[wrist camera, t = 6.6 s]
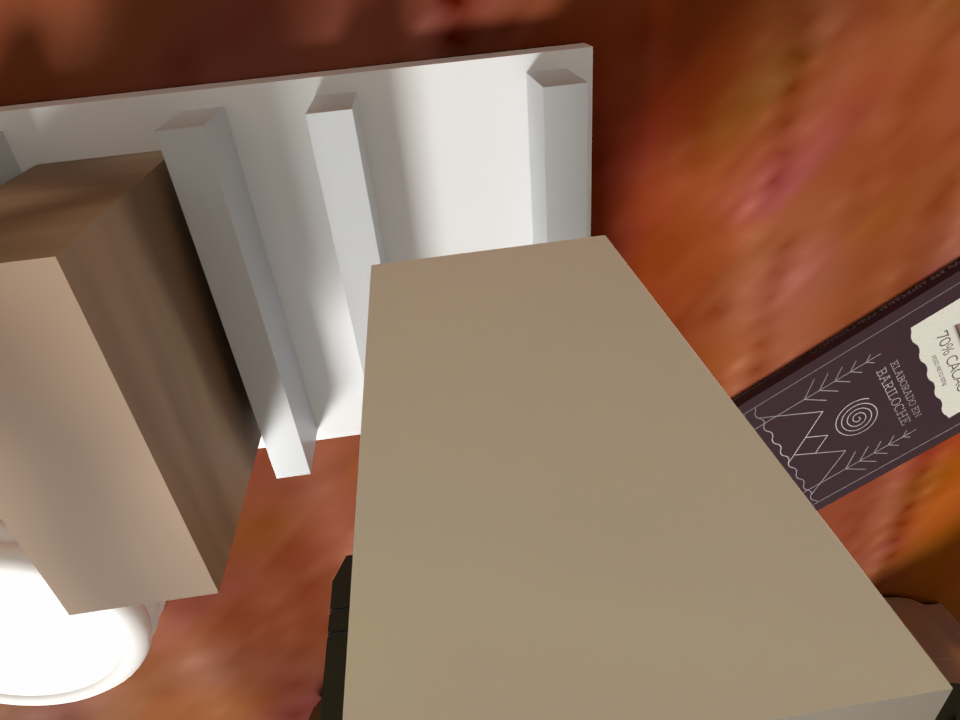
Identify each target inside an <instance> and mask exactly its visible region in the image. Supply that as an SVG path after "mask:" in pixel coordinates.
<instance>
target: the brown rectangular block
mask: <svg viewBox="0 0 960 720" xmlns="http://www.w3.org/2000/svg"><path fill="white" fill-rule="evenodd" d="M260 439H261V432H260V429H259V427H258V424H257V421H256V418H255V415H254V412H253V409H252V407H251V404H250V401H249V398H248V395H247V392H246V390H245V387H244V384H243V381H242V378H241V375H240V373H239V370H238V367H237V364H236V361H235V358H234V356H233V353H232V350H231V347H230V344H229V341H228V339H227V336H226V333H225V330H224V327H223V324H222V321H221V319H220V316H219V313H218V310H217V307H216V304H215V302H214V299H213V296H212V293H211V290H210V287H209V285H208V282H207V279H206V276H205V273H204V270H203V268H202V265H201V262H200V259H199V256H198V253H197V250H196V248H195V245H194V242H193V239H192V236H191V233H190V231H189V228H188V225H187V222H186V219H185V216H184V214H183V211H182V208H181V205H180V202H179V199H178V197H177V194H176V191H175V188H174V185H173V182H172V179H171V177H170V174H169V171H168V168H167V165H166V162H165V160H164V157H163V154H162V151H161V150H159V151H150V152H141V153H133V154H124V155H115V156H106V157H98V158H89V159H80V160H71V161H63V162H54V163H45V164H37V165H35V166H33V167H32V168H30V169H28V170H27V171H25V172H23V173H21V174H20V175H18V176H16V177H15V178H13V179H11V180H10V181H8V182H6V183H4V184H3V185H1V186H0V518H1V519H2V521H3V522H4V523H5V525H6V526H7V528H8V529H9V531H10V532H11V533H12V535H13V536H14V538H15V539H16V540H17V542H18V543H19V545H20V546H21V547H22V549H23V550H24V552H25V553H26V555H27V556H28V557H29V559H30V560H31V562H32V563H33V564H34V566H35V567H36V569H37V570H38V571H39V573H40V574H41V576H42V577H43V579H44V580H45V581H46V583H47V584H48V586H49V587H50V588H51V590H52V591H53V593H54V594H55V595H56V597H57V598H58V600H59V601H60V603H61V604H62V605H63V607H64V608H65V610H66V611H67V612H68V614H69V615H75V614H81V613H88V612H95V611H101V610H108V609H115V608H121V607H128V606H135V605H141V604H148V603H154V602H161V601H168V600H174V599H181V598H188V597H194V596H201V595H207V594H214V593H219V590H220V586H221V582H222V579H223V575H224V571H225V568H226V564H227V560H228V557H229V553H230V549H231V546H232V542H233V538H234V534H235V531H236V527H237V523H238V520H239V516H240V512H241V509H242V505H243V501H244V498H245V494H246V490H247V487H248V483H249V479H250V476H251V472H252V468H253V465H254V461H255V457H256V454H257V450H258V446H259V443H260Z"/></svg>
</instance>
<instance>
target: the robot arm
mask: <svg viewBox="0 0 960 720" xmlns="http://www.w3.org/2000/svg"><path fill="white" fill-rule="evenodd" d="M352 561H353V555H349V556H346V558H345V560H344V561H343V563H342V565H341V567H340V569H339V571H338V573H337V574H336V576H335V578H334V580H333V583H332V594H331V605H330V612H331V614H330V616H329V627H328V638H327V648H326V659H325V670H324V681H323V691H322V702H321V713H320V720H343V704H344V688H345V672H346V657H347V641H348V625H349V609H350V593H351V577H352ZM884 599H885V600H886V602H887V603H888V604H889V605H890V607H891V608H892V609H893V611H894V612H895V613H896V615H897V616H898V617H899V618H900V620H901V621H902V622H903V624H904V625H905V626H906V628H907V629H908V630H909V632H910V633H911V634H912V635H913V637H914V638H915V639H916V641H917V642H918V643H919V645H920V646H921V647H922V648H923V650H924V651H925V652H926V654H927V655H928V656H929V658H930V659H931V660H932V661H933V663H934V664H935V665H936V667H937V668H938V669H939V671H940V672H941V673H942V674H943V676H944V677H945V678H946V680H947V681H948V682H949V684H950V685H951V686H952V688H953V689H952V691H951V693H950V695H949V696H948V698H947V700H946V701H945V703H944V705H943V707H942V708H941V710H940V712H939V714H938V715H937V717H936V719H935V720H960V624H959V623H958V622H957V621H956V619H955V618H954V617H953V616H952V615H951V614H950V612H949V611H948V610H947V609H946V608H945V607H944V605H943V604H942V603H938V604H932V605H925V604H922V603H920V602H917V601H915V600H913V599H907V598H901V597H885V598H884Z"/></svg>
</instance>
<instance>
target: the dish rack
mask: <svg viewBox="0 0 960 720" xmlns="http://www.w3.org/2000/svg"><path fill="white" fill-rule="evenodd" d="M592 91H593V46H590V45H588V44H586V43H578V44H568V45H559V46H550V47H541V48H532V49H523V50H513V51H504V52H495V53H486V54H477V55H468V56H458V57H449V58H440V59H431V60H422V61H413V62H404V63H394V64H385V65H376V66H367V67H358V68H349V69H339V70H330V71H321V72H312V73H303V74H294V75H284V76H275V77H266V78H257V79H248V80H239V81H230V82H220V83H211V84H202V85H193V86H184V87H175V88H165V89H156V90H147V91H138V92H129V93H120V94H110V95H101V96H92V97H83V98H74V99H65V100H55V101H46V102H37V103H28V104H19V105H10V106H1V107H0V186H1V185H3V184H4V183H6V182H8V181H10V180H11V179H13V178H15V177H16V176H18V175H20V174H21V173H23V172H25V171H27V170H28V169H30V168H32V167H33V166H35V165H37V164H45V163H54V162H63V161H71V160H80V159H89V158H98V157H106V156H115V155H124V154H133V153H141V152H150V151H159V150H161V151H162V154H163V157H164V160H165V162H166V165H167V168H168V171H169V174H170V177H171V179H172V182H173V185H174V188H175V191H176V194H177V197H178V199H179V202H180V205H181V208H182V211H183V214H184V216H185V219H186V222H187V225H188V228H189V231H190V233H191V236H192V239H193V242H194V245H195V248H196V250H197V253H198V256H199V259H200V262H201V265H202V268H203V270H204V273H205V276H206V279H207V282H208V285H209V287H210V290H211V293H212V296H213V299H214V302H215V304H216V307H217V310H218V313H219V316H220V319H221V321H222V324H223V327H224V330H225V333H226V336H227V339H228V341H229V344H230V347H231V350H232V353H233V356H234V358H235V361H236V364H237V367H238V370H239V373H240V375H241V378H242V381H243V384H244V387H245V390H246V392H247V395H248V398H249V401H250V404H251V407H252V409H253V412H254V415H255V418H256V421H257V424H258V427H259V429H260V432H261V439H260V443H259V446H258V448H265V447H266V449H267V452H268V455H269V458H270V461H271V463H272V466H273V469H274V472H275V475H276V478H284V477H291V476H298V475H305V474H311V468H312V462H313V455H314V449H315V443H316V440H322V439H329V438H336V437H343V436H351V435H358V434H361V419H362V403H363V387H364V371H365V356H366V340H367V324H368V308H369V292H370V276H371V265H375V264H383V263H391V262H399V261H407V260H414V259H422V258H430V257H438V256H446V255H453V254H461V253H469V252H477V251H485V250H492V249H500V248H508V247H516V246H524V245H531V244H539V243H547V242H555V241H563V240H570V239H578V238H586V237H591V174H592Z"/></svg>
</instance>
